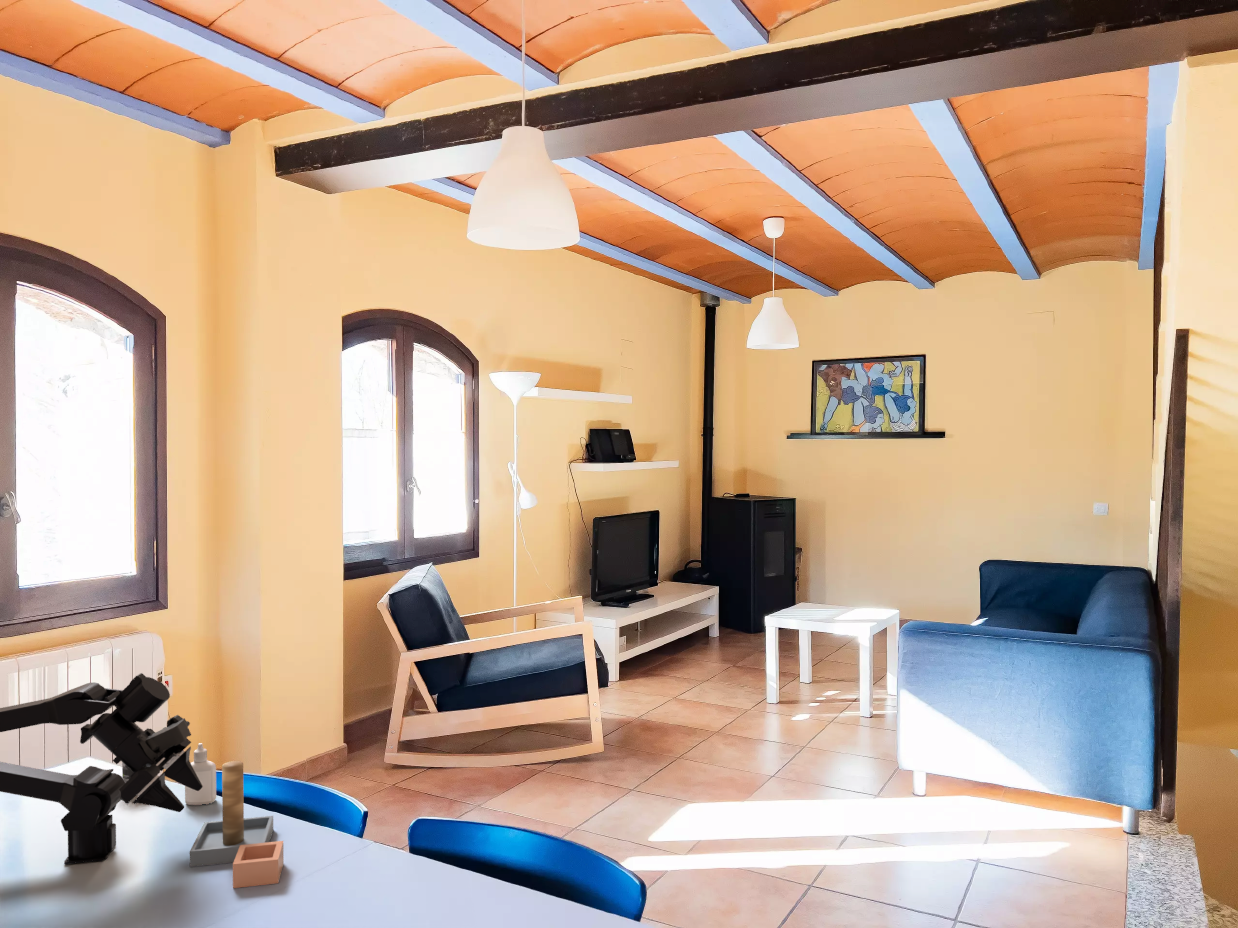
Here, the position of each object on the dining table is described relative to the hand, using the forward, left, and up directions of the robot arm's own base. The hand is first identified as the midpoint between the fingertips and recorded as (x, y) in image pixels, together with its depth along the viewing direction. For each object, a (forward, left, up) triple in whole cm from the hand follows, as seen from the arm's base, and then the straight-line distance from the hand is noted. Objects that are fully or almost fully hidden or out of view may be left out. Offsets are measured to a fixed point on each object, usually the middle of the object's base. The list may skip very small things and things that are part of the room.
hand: (191, 798), depth 158 cm
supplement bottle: (-17, +32, -9) cm, 38 cm away
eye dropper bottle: (-3, +22, -9) cm, 24 cm away
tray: (+7, -1, -9) cm, 12 cm away
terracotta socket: (+13, -13, -9) cm, 20 cm away
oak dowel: (+7, -1, -8) cm, 11 cm away
